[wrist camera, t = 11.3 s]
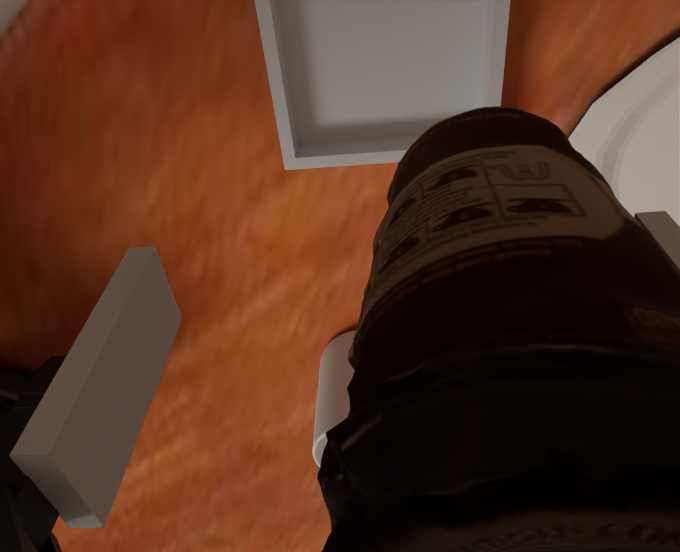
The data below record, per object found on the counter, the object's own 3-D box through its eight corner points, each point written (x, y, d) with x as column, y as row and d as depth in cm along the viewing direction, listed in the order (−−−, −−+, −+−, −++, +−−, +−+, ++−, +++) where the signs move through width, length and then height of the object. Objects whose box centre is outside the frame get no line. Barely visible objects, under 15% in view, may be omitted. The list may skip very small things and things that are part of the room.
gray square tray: (289, 152, 37) (284, 170, 35) (249, -82, 29) (240, -76, 26) (488, 137, 36) (496, 155, 34) (509, -112, 27) (520, -108, 25)
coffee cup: (300, 171, 18) (165, 575, 8) (519, -6, 14) (793, 352, 4) (448, 321, 22) (482, 729, 12) (656, 213, 18) (981, 690, 8)
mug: (416, 295, 45) (427, 393, 37) (461, 352, 49) (479, 451, 41) (303, 347, 49) (291, 445, 41) (352, 396, 54) (350, 492, 45)
